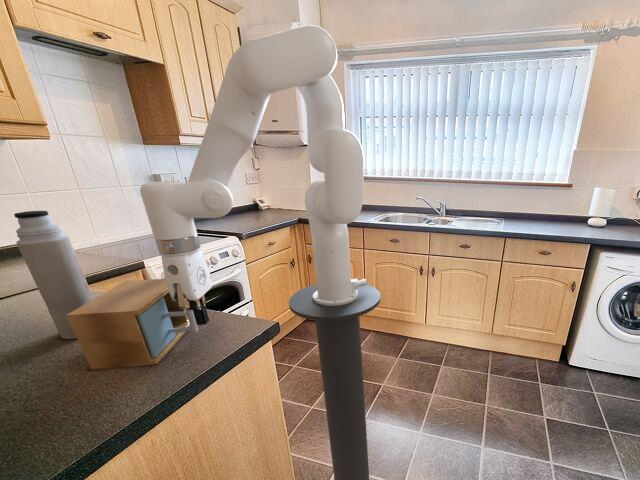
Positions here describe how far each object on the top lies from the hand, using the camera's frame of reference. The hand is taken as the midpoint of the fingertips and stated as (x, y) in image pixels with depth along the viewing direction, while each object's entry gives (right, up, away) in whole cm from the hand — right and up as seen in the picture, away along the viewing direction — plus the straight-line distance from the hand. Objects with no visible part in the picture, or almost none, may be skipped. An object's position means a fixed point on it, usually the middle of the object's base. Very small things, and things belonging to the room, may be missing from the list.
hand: (200, 323), depth 77 cm
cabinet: (-11, -4, -2) cm, 12 cm away
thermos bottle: (-30, -2, +4) cm, 31 cm away
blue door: (-2, -4, -5) cm, 7 cm away
